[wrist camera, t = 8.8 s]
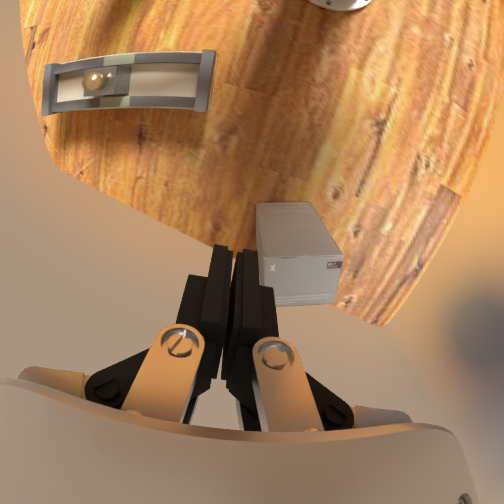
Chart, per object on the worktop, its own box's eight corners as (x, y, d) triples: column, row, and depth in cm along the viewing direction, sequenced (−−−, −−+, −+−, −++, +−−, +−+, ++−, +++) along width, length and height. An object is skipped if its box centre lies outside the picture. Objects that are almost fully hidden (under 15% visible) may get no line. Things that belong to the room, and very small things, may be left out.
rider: (102, 70, 24) (75, 69, 19) (131, 67, 24) (108, 64, 19) (100, 94, 26) (73, 98, 20) (128, 92, 26) (105, 95, 21)
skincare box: (255, 239, 43) (258, 313, 30) (255, 196, 39) (258, 258, 26) (310, 239, 43) (334, 311, 30) (314, 196, 39) (346, 257, 26)
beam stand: (75, 65, 27) (44, 65, 20) (221, 58, 29) (214, 50, 22) (72, 108, 31) (41, 116, 24) (214, 108, 32) (205, 112, 26)
